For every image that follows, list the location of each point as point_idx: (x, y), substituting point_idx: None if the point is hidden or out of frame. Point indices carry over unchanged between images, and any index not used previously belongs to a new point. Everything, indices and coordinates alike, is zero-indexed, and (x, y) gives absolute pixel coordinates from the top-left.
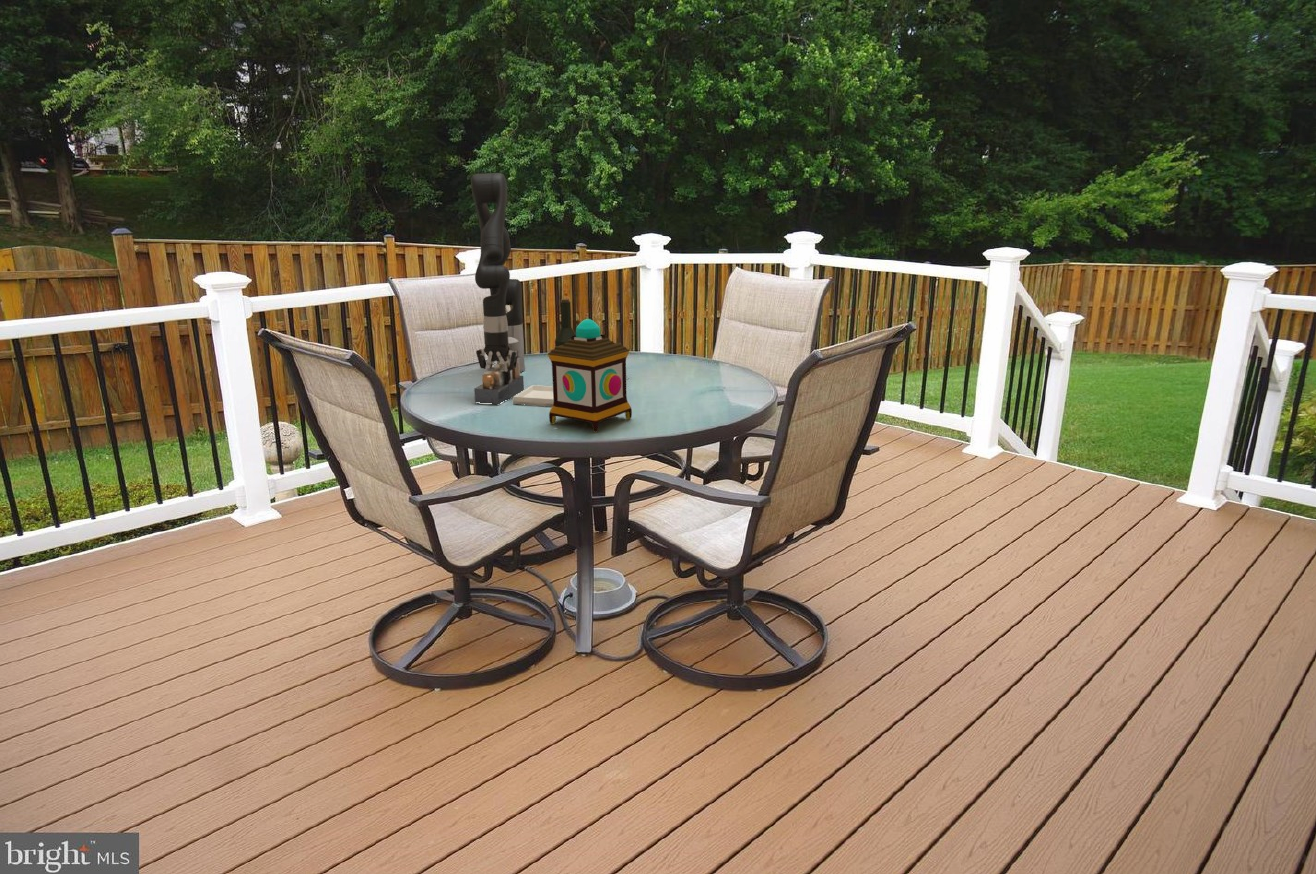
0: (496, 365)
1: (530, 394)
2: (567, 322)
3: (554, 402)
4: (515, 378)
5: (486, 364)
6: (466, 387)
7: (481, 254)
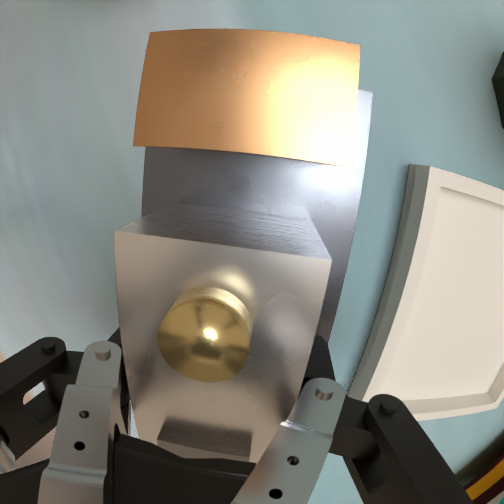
0: (124, 284)
1: (420, 285)
2: None
3: None
4: (334, 202)
5: (66, 378)
6: (25, 113)
7: None
